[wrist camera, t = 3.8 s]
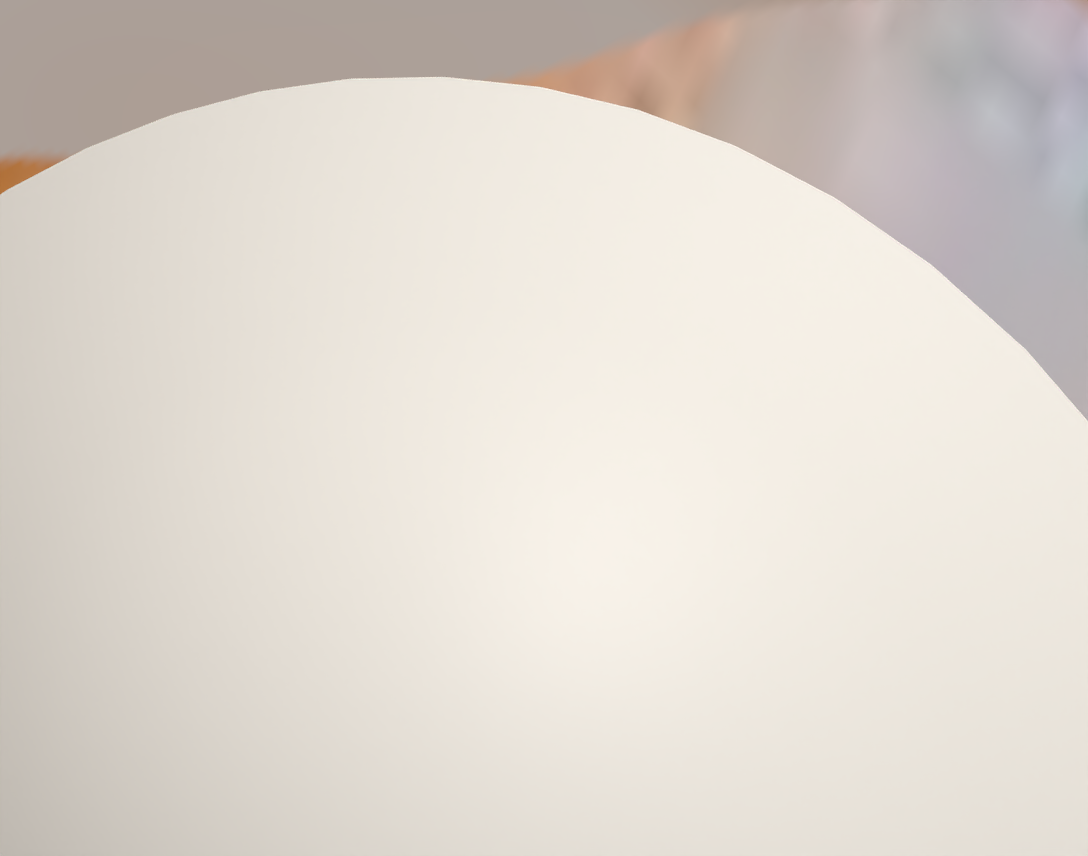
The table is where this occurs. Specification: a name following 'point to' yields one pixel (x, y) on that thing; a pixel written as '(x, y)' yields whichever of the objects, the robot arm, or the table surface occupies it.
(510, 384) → the white domed cylinder
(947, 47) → the table surface
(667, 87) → the table surface
